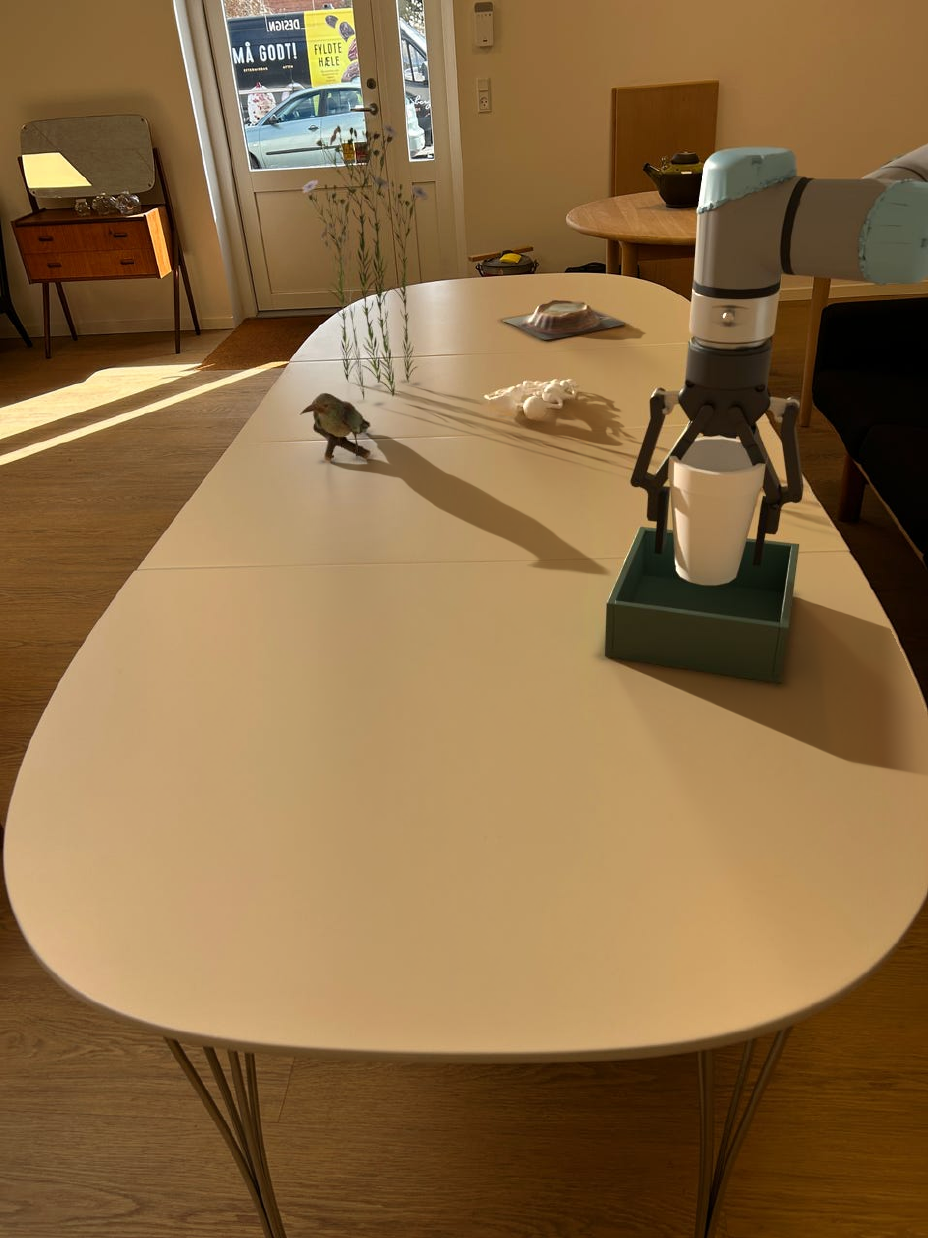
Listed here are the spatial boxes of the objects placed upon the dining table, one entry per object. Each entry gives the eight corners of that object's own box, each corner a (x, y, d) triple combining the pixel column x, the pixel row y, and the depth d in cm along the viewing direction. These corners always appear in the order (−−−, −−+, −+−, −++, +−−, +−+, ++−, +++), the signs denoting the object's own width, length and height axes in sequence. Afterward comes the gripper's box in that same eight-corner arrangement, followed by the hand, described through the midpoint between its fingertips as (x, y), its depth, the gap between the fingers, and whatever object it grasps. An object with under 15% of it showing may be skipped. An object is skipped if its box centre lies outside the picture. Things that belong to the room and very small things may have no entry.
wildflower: (345, 369, 186) (314, 114, 162) (455, 373, 180) (439, 109, 156) (299, 408, 168) (256, 127, 144) (419, 414, 162) (395, 122, 138)
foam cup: (669, 544, 103) (677, 433, 96) (755, 554, 101) (771, 440, 94) (654, 586, 96) (662, 469, 89) (747, 598, 93) (763, 478, 86)
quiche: (580, 306, 218) (580, 288, 216) (628, 325, 202) (628, 306, 200) (500, 320, 211) (499, 302, 209) (542, 341, 195) (542, 322, 193)
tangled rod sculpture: (528, 387, 174) (526, 365, 172) (598, 392, 167) (597, 368, 165) (471, 418, 161) (469, 394, 159) (544, 424, 153) (543, 399, 151)
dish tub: (791, 595, 106) (799, 543, 103) (779, 683, 92) (788, 628, 89) (637, 575, 112) (639, 526, 108) (604, 656, 98) (606, 603, 94)
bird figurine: (335, 423, 158) (300, 340, 140) (391, 426, 156) (362, 343, 138) (316, 489, 153) (277, 411, 135) (374, 493, 150) (341, 415, 133)
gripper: (603, 343, 86) (596, 557, 98) (858, 356, 79) (817, 585, 91) (620, 321, 92) (612, 525, 104) (859, 331, 85) (821, 549, 97)
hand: (708, 553), depth 97 cm, fingers closed on foam cup, 9 cm apart
